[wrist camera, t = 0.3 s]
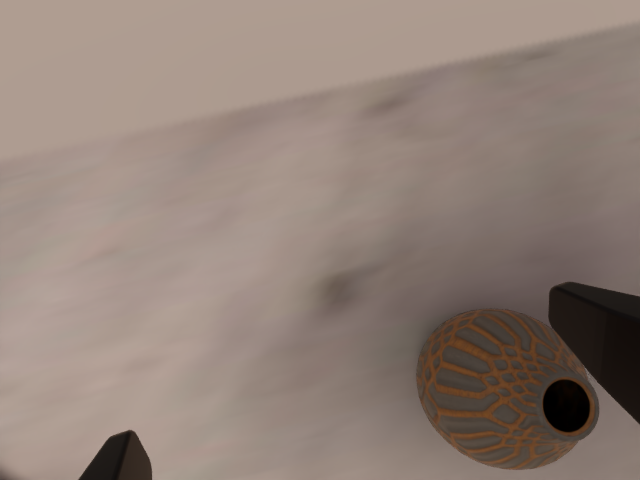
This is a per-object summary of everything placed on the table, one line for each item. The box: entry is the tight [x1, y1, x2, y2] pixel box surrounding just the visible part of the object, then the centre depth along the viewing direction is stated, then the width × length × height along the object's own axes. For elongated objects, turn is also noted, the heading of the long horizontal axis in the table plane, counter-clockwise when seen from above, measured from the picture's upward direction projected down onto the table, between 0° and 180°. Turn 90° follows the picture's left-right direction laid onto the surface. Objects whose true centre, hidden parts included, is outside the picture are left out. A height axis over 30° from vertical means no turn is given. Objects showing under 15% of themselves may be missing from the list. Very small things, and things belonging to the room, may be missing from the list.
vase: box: [417, 309, 599, 470], centre depth 20 cm, size 7×7×9 cm
